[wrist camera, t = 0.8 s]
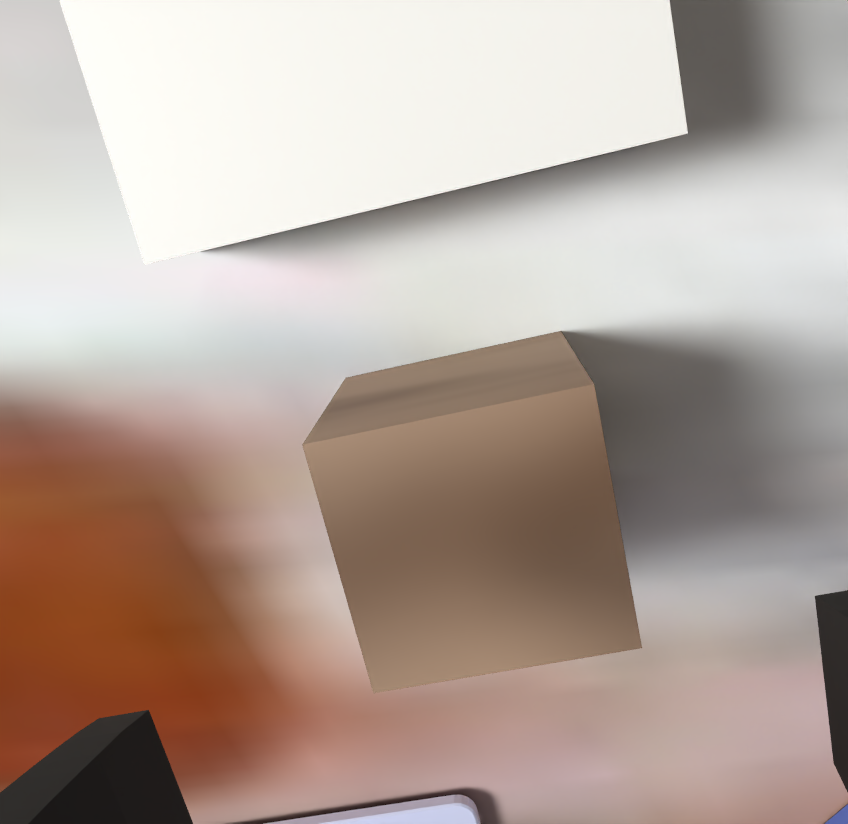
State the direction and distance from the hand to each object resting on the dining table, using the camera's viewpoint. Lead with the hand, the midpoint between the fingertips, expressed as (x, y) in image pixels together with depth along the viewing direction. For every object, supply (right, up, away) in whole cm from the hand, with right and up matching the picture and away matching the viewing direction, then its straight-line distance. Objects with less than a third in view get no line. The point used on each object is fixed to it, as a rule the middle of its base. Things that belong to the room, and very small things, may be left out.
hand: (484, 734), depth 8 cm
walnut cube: (+1, +2, +10) cm, 11 cm away
